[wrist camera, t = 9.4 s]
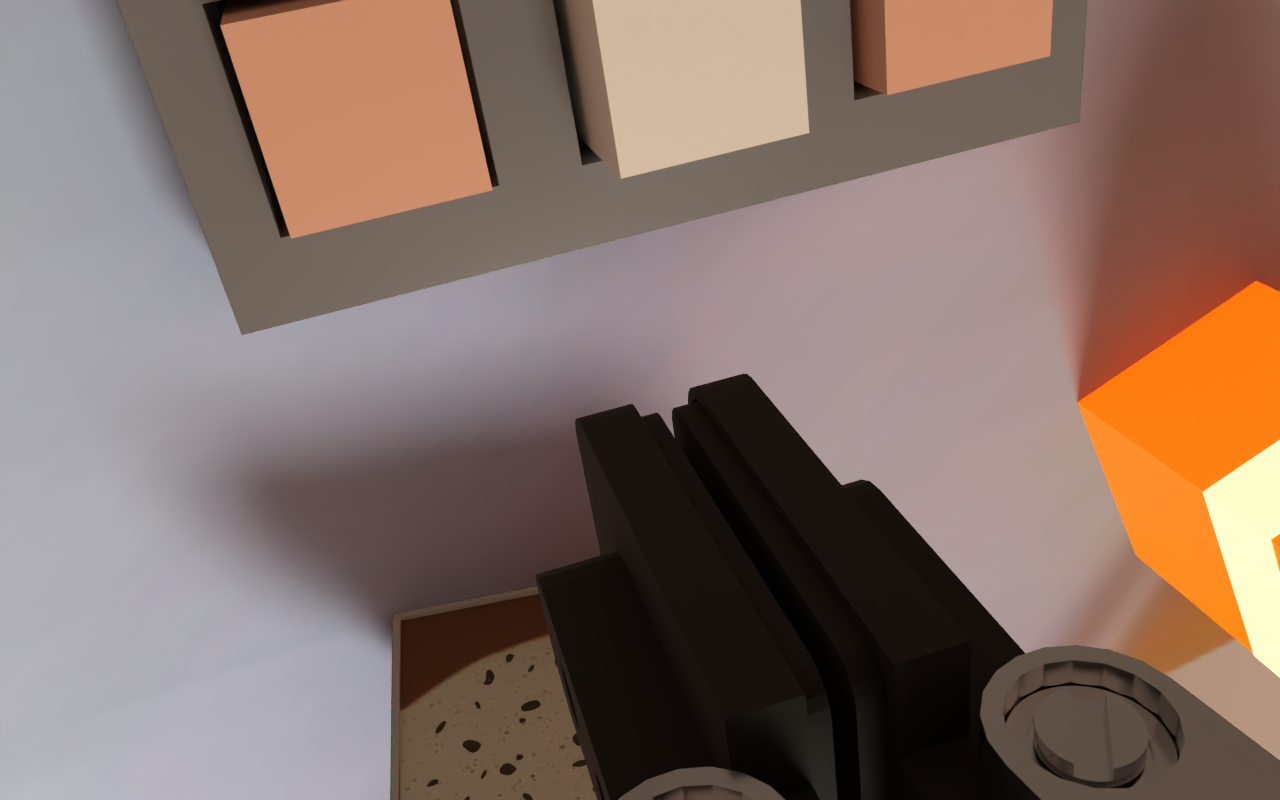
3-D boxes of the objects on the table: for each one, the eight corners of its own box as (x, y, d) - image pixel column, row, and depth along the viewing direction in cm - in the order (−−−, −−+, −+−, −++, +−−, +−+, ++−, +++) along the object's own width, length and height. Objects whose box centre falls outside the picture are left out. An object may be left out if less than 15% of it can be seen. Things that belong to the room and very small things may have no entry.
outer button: (421, -41, 25) (445, -21, 21) (464, 144, 27) (492, 190, 24) (226, -3, 24) (220, 25, 21) (288, 185, 26) (291, 238, 23)
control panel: (1024, -264, 27) (1104, -273, 24) (1013, 97, 31) (1079, 121, 29) (102, -101, 23) (82, -92, 20) (244, 287, 27) (241, 335, 25)
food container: (368, 769, 36) (400, 1063, 27) (342, 623, 33) (368, 901, 24) (718, 689, 39) (844, 930, 30) (723, 549, 36) (864, 773, 27)
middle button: (723, -94, 25) (795, -81, 22) (742, 95, 27) (809, 133, 24) (541, -58, 24) (585, -39, 21) (575, 133, 26) (621, 178, 23)
